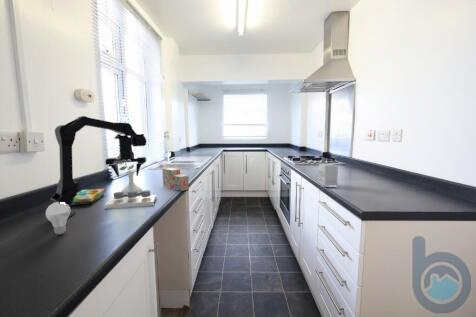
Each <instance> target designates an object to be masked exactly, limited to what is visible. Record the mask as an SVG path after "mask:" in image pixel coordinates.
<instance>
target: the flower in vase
mask: <svg viewBox="0 0 476 317" xmlns="http://www.w3.org/2000/svg"><path fill="white" fill-rule="evenodd" d="M116 158H117V159H120V154H119V155H118V156H117V157H116ZM123 161H124V160H123ZM124 163H125V164H124ZM122 164H124V165H125V166H121V167H120V168H118V171H125V170H126V169H127V170H126V171H125V173H126V174H127V177H128V184H127V185H126V186H125V187H124V188H123V189H121V190H120V192H123V194H124V196H128V192H130V191H137V195H138V194H141V191H143V188H141V187H140V186H139V185H137V184H135V183H134V175H135V172H136V170H132V169H134V164H132V165H129V166H127V162H119V163H118V165H122Z"/></svg>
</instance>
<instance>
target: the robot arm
mask: <svg viewBox="0 0 476 317" xmlns="http://www.w3.org/2000/svg"><path fill="white" fill-rule="evenodd" d="M85 127H91V128H98V129H104V130H107V131H108V130H109V131H112V132H114V133H117V134H116V136H115V137H114V138H113V139H114V140H118V143H119V155H120V159H117V157H108V158H106V159H105V162H104V163H105V165H108V167H111V168H112V170H113V171H114V173H115V175H116V176H117V178H120V173H119V171H120V170H119V166H118V165H119V164H118V163H119V162H124V163H136V170H135V172H136V176H137V177H138V176H139V173H140V169H141V167H142V165H144V164H145V163H146V162H147V157H146V156H137V157H136V158H135V153H134V151H133V147H134V148H135V147H145V146H146V145H147V139H146V136H144V135H145V134H144V133H138V134H137V132H136V131H135V130H134V129H133V126H132V125H131V124H130V122H129V123H128V122H114V121H113V122H112V121H107V120H102V119H98V118H97V119H96V118H91V117H89V116H85V115H83V116H82V115H81V116H78V117H77V118H75V119H74V120H73V119H72V121H70V122H67V123H65V124H60V125H58V126H56V127H55V129H54V134H55V138H56V141H57V144H58V148H59V150H58V151H59V174H60V176H59V181H58V183H57V187H56V191H55V193H54V194H53V195H52V196H51V197H50V200H51V202H52V204H53V203H55V202H64V203H66V204H68V205H69V207H70V210H71V212H70V215H69V217H68V218H67V220H68V219H69V218H71V217H73V216H74V215H75V214H76V212H72V204H71V203H72V201H73V198H74V197H75V196H76V195H77V193H78V192H80V190H79V182H78V181H76V180H74V178H73V176H74V175H73V145H74V142H75V140H76V136H77V135H76V134H77V132H79V131H81V130H82V129H83V128H85ZM132 146H133V147H132ZM123 160H124V161H123Z"/></svg>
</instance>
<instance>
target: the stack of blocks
mask: <svg viewBox="0 0 476 317" xmlns="http://www.w3.org/2000/svg"><path fill="white" fill-rule="evenodd" d="M161 171H162V186H163V187H165V186H167V187H166V188H168V187H170V188H169V189H172V188H175V189H178V190H180V191H179V192H183V191H188V190H189V188H190V186H189V174H188V175H187V174H183V173H181V169H179V168H177V167H176V168H175V167H165V168H162V169H161ZM175 189H174V190H175ZM178 190H177V191H178Z"/></svg>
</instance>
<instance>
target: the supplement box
mask: <svg viewBox="0 0 476 317" xmlns="http://www.w3.org/2000/svg"><path fill="white" fill-rule="evenodd" d="M338 169H339V165H338V164H335V163H318V183H320V184H322V185H337V186H338V179H339V178H338V171H339V170H338Z"/></svg>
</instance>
